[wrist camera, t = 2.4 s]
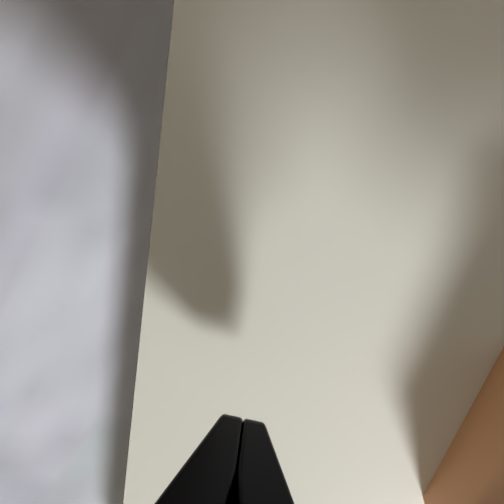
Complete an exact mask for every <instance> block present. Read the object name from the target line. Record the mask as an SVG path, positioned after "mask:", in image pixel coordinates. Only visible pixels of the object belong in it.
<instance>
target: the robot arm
mask: <svg viewBox="0 0 504 504" xmlns="http://www.w3.org/2000/svg"><path fill="white" fill-rule="evenodd" d="M154 504H294V501H293V498H292V496H291V493H290V490H289V488H288V485H287V482H286V479H285V477H284V474H283V471H282V468H281V466H280V463H279V460H278V458H277V455H276V452H275V449H274V447H273V444H272V441H271V439H270V436H269V433H268V430H267V428H266V426H265V424H264V423H263V422H260V421H256V420H251V419H245V420H244V421H243V420H242V418H241V417H237V416H232V415H228V414H223V415H221V416H220V417H219V419H218V420H217V421H216V423H215V424H214V425H213V427H212V428H211V429H210V431H209V432H208V433H207V435H206V436H205V437H204V439H203V440H202V441H201V443H200V444H199V445H198V447H197V448H196V449H195V451H194V452H193V453H192V454H191V456H190V457H189V458H188V460H187V461H186V462H185V464H184V465H183V466H182V468H181V469H180V470H179V472H178V473H177V474H176V476H175V477H174V478H173V480H172V481H171V482H170V484H169V485H168V486H167V488H166V489H165V490H164V492H163V493H162V494H161V496H160V497H159V498H158V500H157V501H156V502H155V503H154Z"/></svg>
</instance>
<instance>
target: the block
mask: <svg viewBox="0 0 504 504" xmlns="http://www.w3.org/2000/svg"><path fill="white" fill-rule="evenodd" d="M423 500H424V503H425V504H504V347H503V349H502V351H501V352H500V354H499V356H498V358H497V360H496V362H495V363H494V365H493V367H492V369H491V371H490V373H489V374H488V376H487V378H486V380H485V382H484V384H483V386H482V387H481V389H480V391H479V393H478V395H477V397H476V398H475V400H474V402H473V404H472V406H471V408H470V409H469V411H468V413H467V415H466V417H465V419H464V420H463V422H462V424H461V426H460V428H459V430H458V431H457V433H456V435H455V437H454V439H453V441H452V443H451V444H450V446H449V448H448V450H447V452H446V454H445V455H444V457H443V459H442V461H441V463H440V465H439V466H438V468H437V470H436V472H435V474H434V476H433V477H432V479H431V481H430V483H429V485H428V487H427V489H426V490H425V492H424V494H423Z"/></svg>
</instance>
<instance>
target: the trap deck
mask: <svg viewBox="0 0 504 504" xmlns="http://www.w3.org/2000/svg"><path fill="white" fill-rule="evenodd" d="M503 347H504V0H174V8H173V17H172V27H171V37H170V47H169V57H168V67H167V77H166V86H165V96H164V106H163V116H162V126H161V136H160V145H159V155H158V165H157V175H156V185H155V195H154V205H153V214H152V224H151V234H150V244H149V254H148V264H147V274H146V283H145V293H144V303H143V313H142V323H141V333H140V342H139V352H138V362H137V372H136V382H135V392H134V402H133V411H132V421H131V431H130V441H129V451H128V461H127V471H126V480H125V490H124V500H123V504H154V503H155V502H156V501H157V500H158V498H159V497H160V496H161V494H162V493H163V492H164V490H165V489H166V488H167V486H168V485H169V484H170V482H171V481H172V480H173V478H174V477H175V476H176V474H177V473H178V472H179V470H180V469H181V468H182V466H183V465H184V464H185V462H186V461H187V460H188V458H189V457H190V456H191V454H192V453H193V452H194V451H195V449H196V448H197V447H198V445H199V444H200V443H201V441H202V440H203V439H204V437H205V436H206V435H207V433H208V432H209V431H210V429H211V428H212V427H213V425H214V424H215V423H216V421H217V420H218V419H219V417H220V416H221V415H223V414H228V415H232V416H237V417H241V418H242V420H243V421H244V420H245V419H251V420H256V421H260V422H263V423H264V424H265V426H266V428H267V430H268V433H269V436H270V439H271V441H272V444H273V447H274V449H275V452H276V455H277V458H278V460H279V463H280V466H281V468H282V471H283V474H284V477H285V479H286V482H287V485H288V488H289V490H290V493H291V496H292V498H293V501H294V504H425V503H424V500H423V494H424V492H425V490H426V489H427V487H428V485H429V483H430V481H431V479H432V477H433V476H434V474H435V472H436V470H437V468H438V466H439V465H440V463H441V461H442V459H443V457H444V455H445V454H446V452H447V450H448V448H449V446H450V444H451V443H452V441H453V439H454V437H455V435H456V433H457V431H458V430H459V428H460V426H461V424H462V422H463V420H464V419H465V417H466V415H467V413H468V411H469V409H470V408H471V406H472V404H473V402H474V400H475V398H476V397H477V395H478V393H479V391H480V389H481V387H482V386H483V384H484V382H485V380H486V378H487V376H488V374H489V373H490V371H491V369H492V367H493V365H494V363H495V362H496V360H497V358H498V356H499V354H500V352H501V351H502V349H503Z"/></svg>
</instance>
